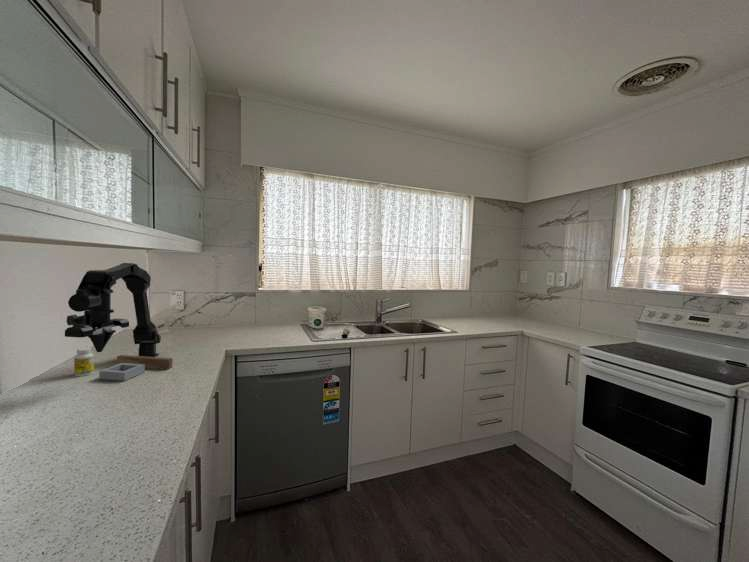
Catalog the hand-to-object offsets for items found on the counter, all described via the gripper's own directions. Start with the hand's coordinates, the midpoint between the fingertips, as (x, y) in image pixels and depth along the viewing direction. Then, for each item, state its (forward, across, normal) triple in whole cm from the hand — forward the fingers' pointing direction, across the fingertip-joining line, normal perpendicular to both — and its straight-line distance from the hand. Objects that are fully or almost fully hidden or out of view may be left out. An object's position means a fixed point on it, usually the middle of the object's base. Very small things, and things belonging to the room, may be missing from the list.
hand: (99, 351), depth 108 cm
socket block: (+12, -10, 0) cm, 15 cm away
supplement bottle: (+12, -10, -15) cm, 22 cm away
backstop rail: (+12, -20, 0) cm, 24 cm away
